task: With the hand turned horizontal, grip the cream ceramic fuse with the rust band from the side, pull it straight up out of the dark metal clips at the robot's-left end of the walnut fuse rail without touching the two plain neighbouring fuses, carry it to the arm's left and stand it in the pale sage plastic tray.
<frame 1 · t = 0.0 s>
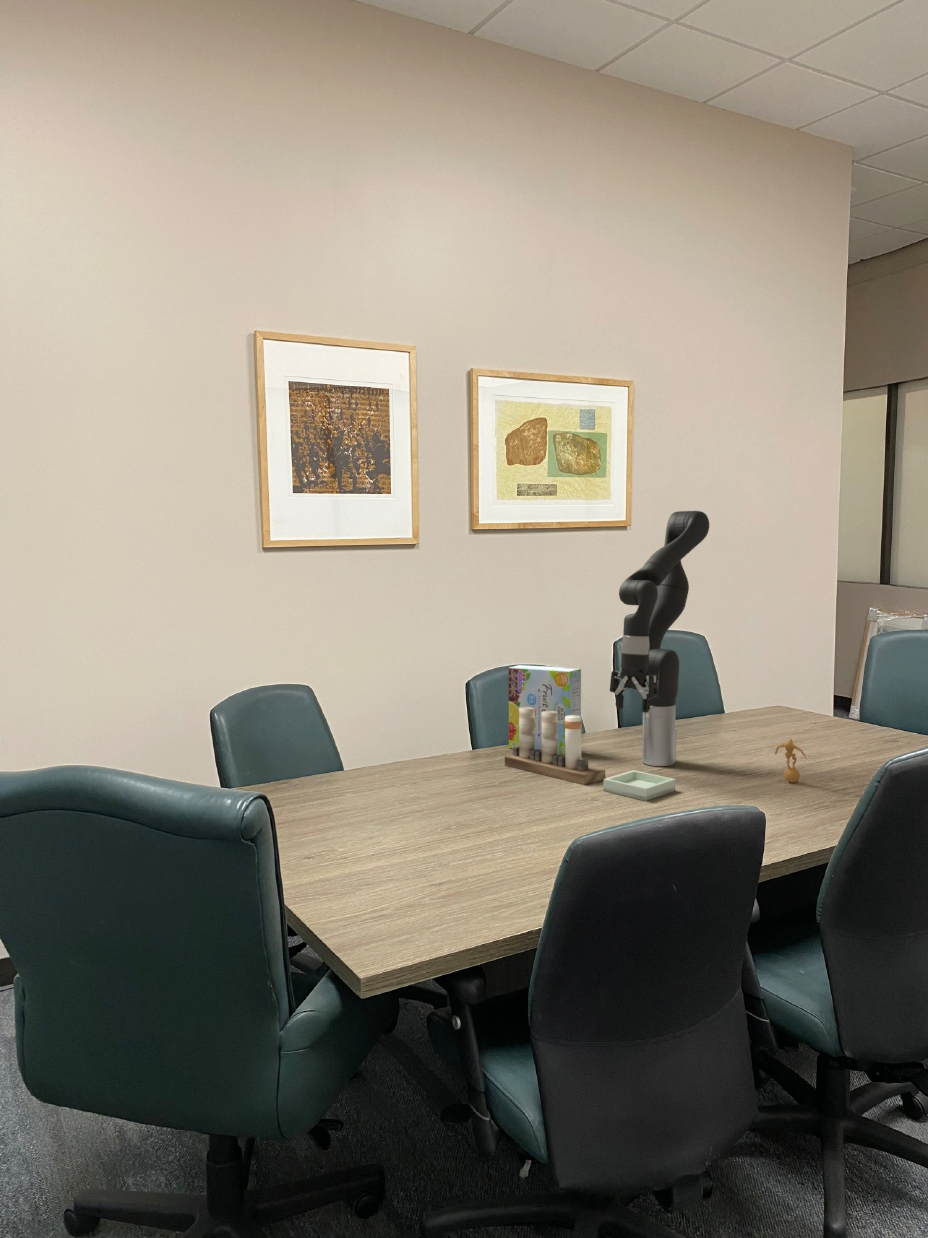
hand: (632, 710, 243), 17 cm above the table, tool pointing down, fingers open, 8 cm apart
tray: (639, 790, 225), on the table
fuse rail: (553, 771, 244), on the table
figurine: (790, 784, 231), on the table
marked fuse: (573, 767, 239), point 2 cm above the table, touching fuse rail
snack box: (544, 750, 271), on the table
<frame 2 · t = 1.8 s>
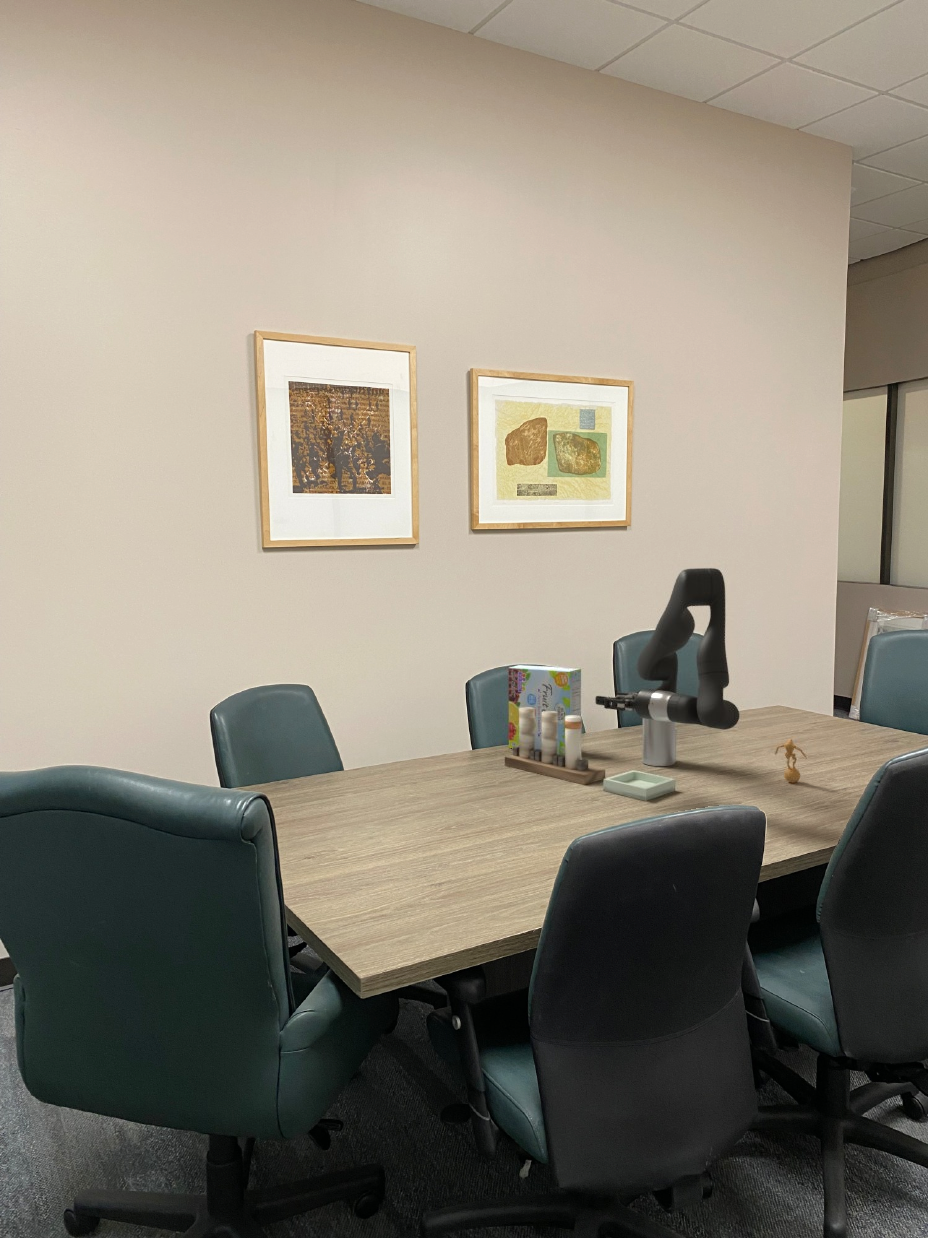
hand: (606, 698, 229), 23 cm above the table, tool horizontal, fingers open, 8 cm apart
nothing on the table moved.
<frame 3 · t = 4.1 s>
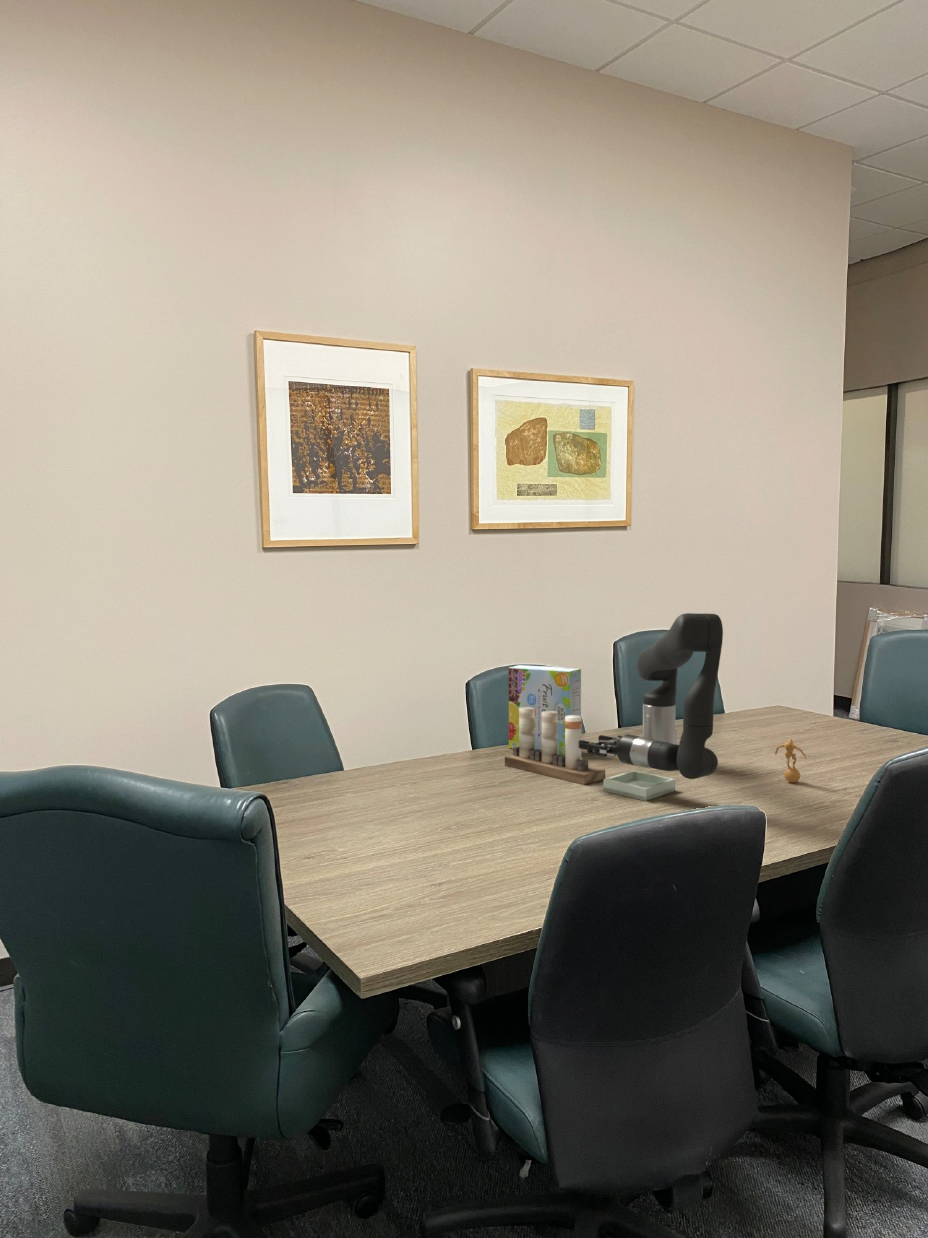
hand: (589, 741, 235), 11 cm above the table, tool horizontal, fingers open, 8 cm apart
nothing on the table moved.
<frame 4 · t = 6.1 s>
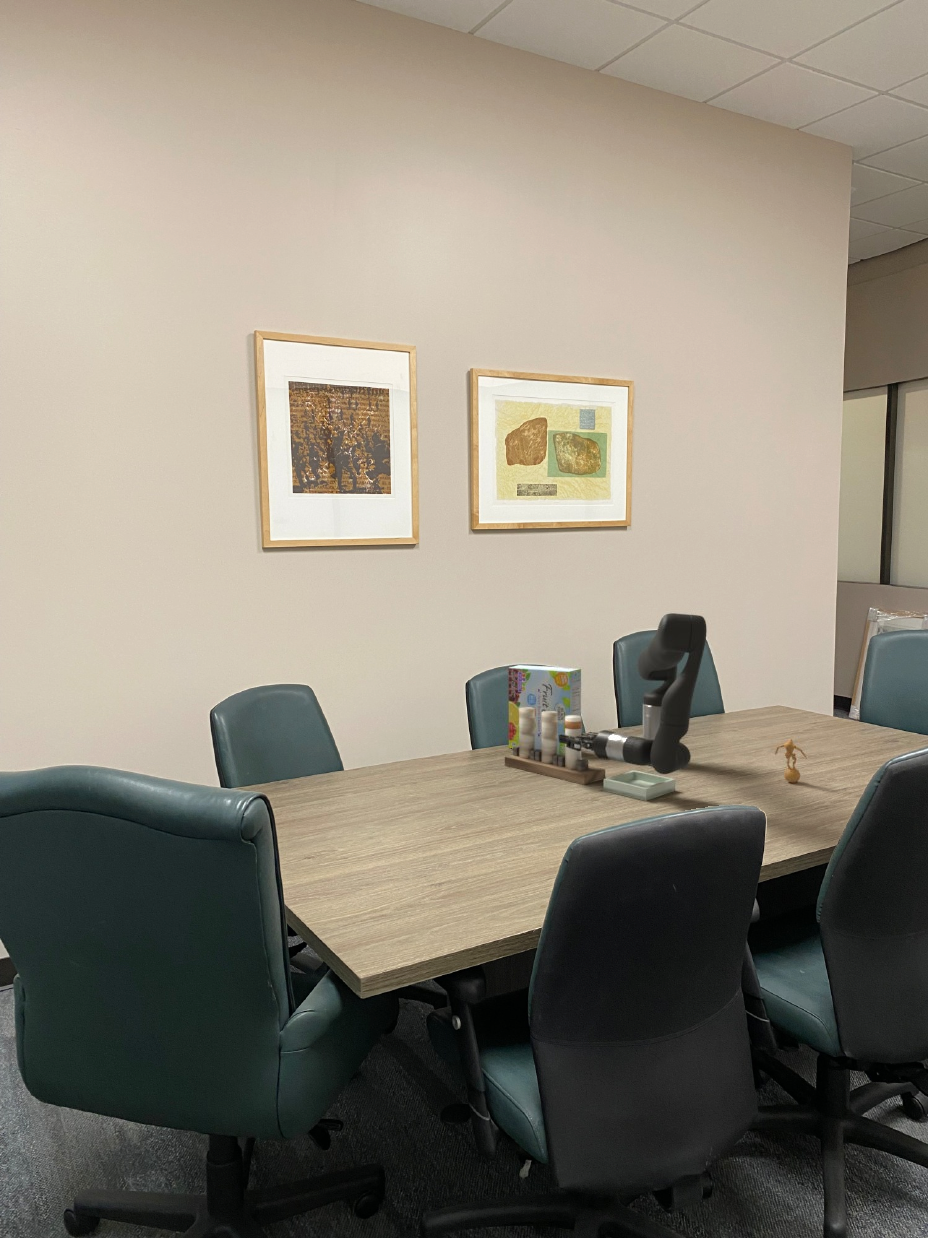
hand: (565, 736, 240), 10 cm above the table, tool horizontal, fingers closed on marked fuse, 4 cm apart
marked fuse: (573, 767, 239), point 3 cm above the table, touching fuse rail, gripper
everything else where it was.
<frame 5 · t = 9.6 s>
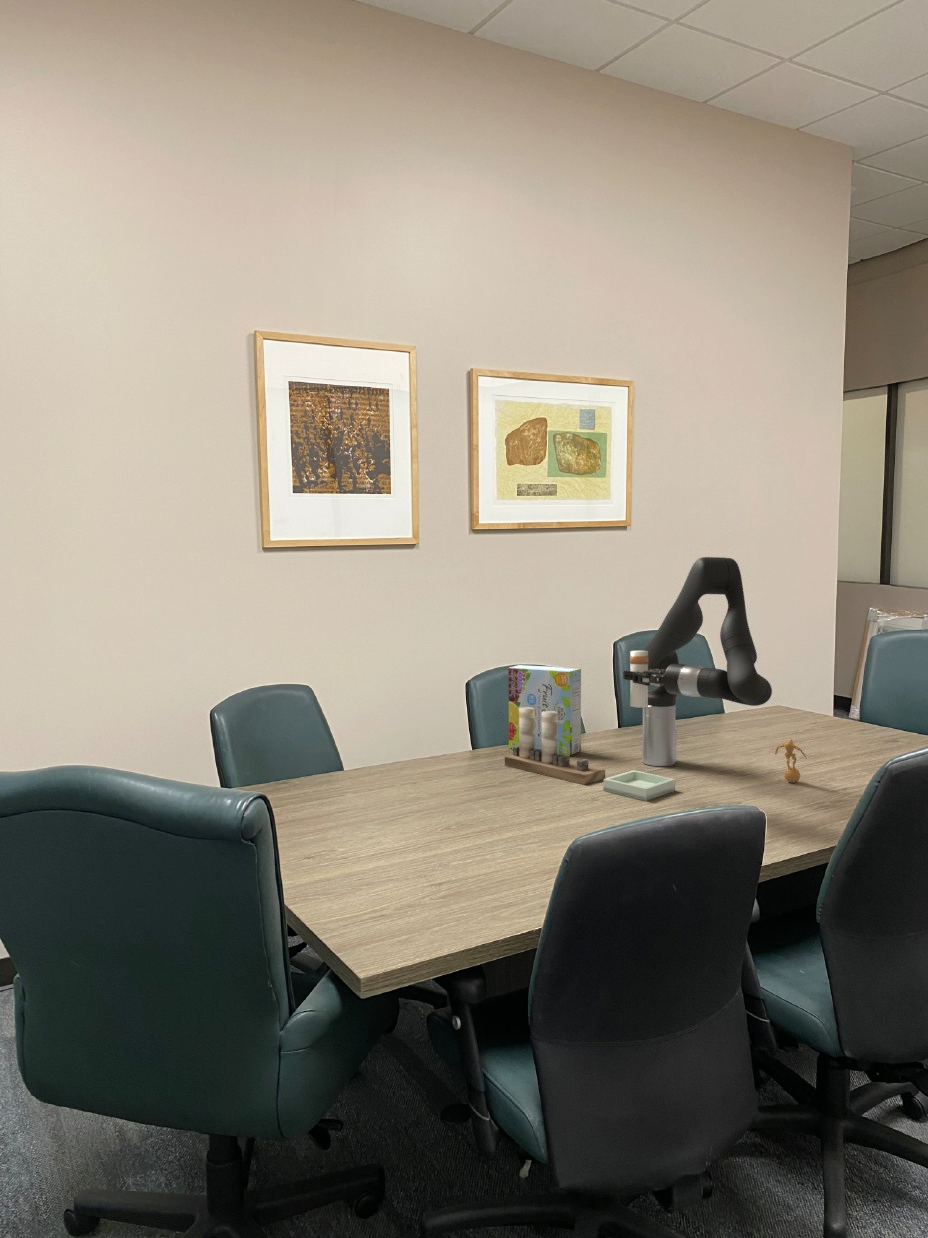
hand: (630, 674, 225), 30 cm above the table, tool horizontal, fingers closed on marked fuse, 4 cm apart
marked fuse: (639, 706, 223), point 22 cm above the table, touching gripper
everything else where it was.
when the fingers open (10 cm above the table, at t = 13.1 s): marked fuse drops 1 cm, resting on tray.
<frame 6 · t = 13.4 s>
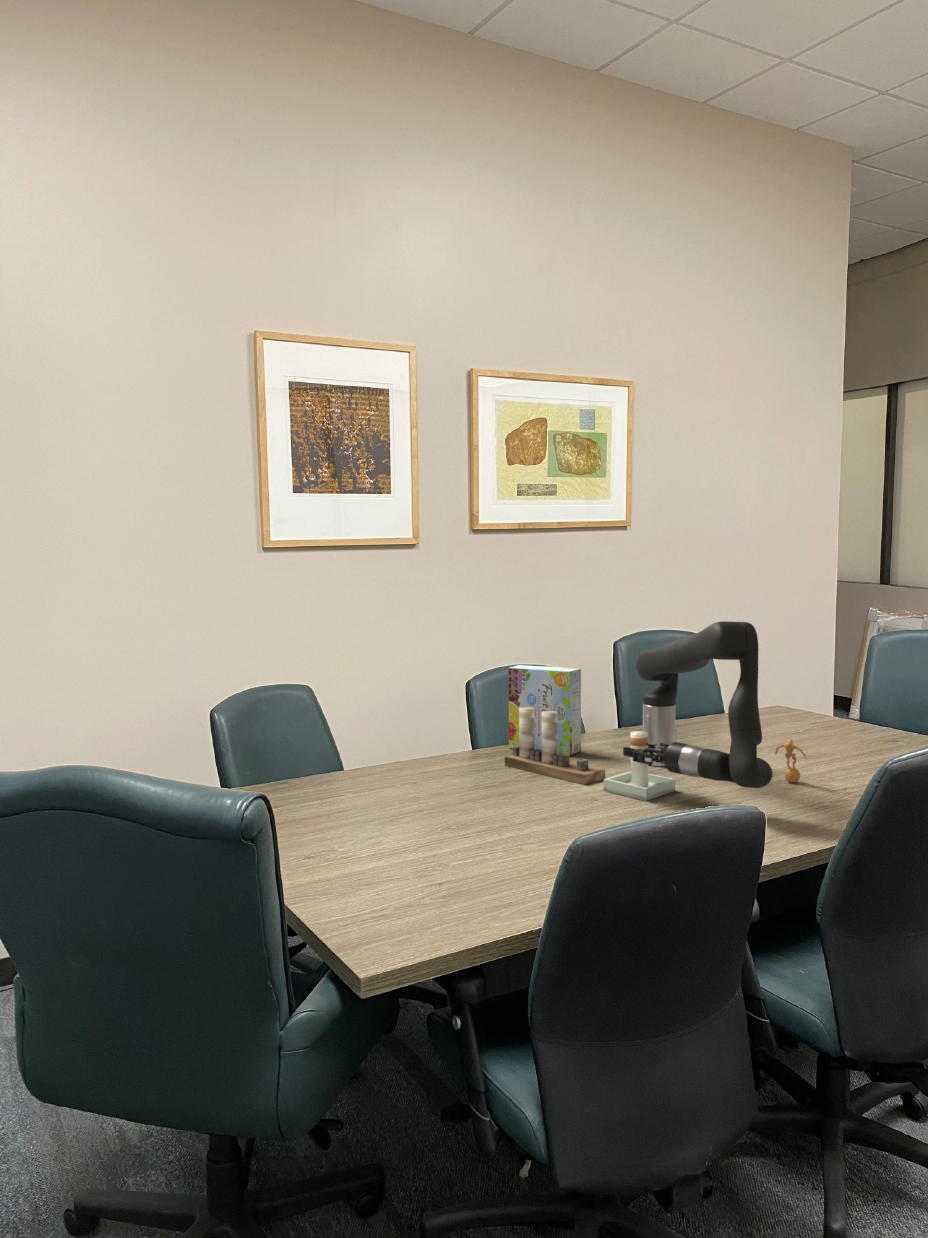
hand: (632, 749, 226), 11 cm above the table, tool horizontal, fingers open, 6 cm apart
marked fuse: (639, 786, 225), point 1 cm above the table, touching tray
everything else where it was.
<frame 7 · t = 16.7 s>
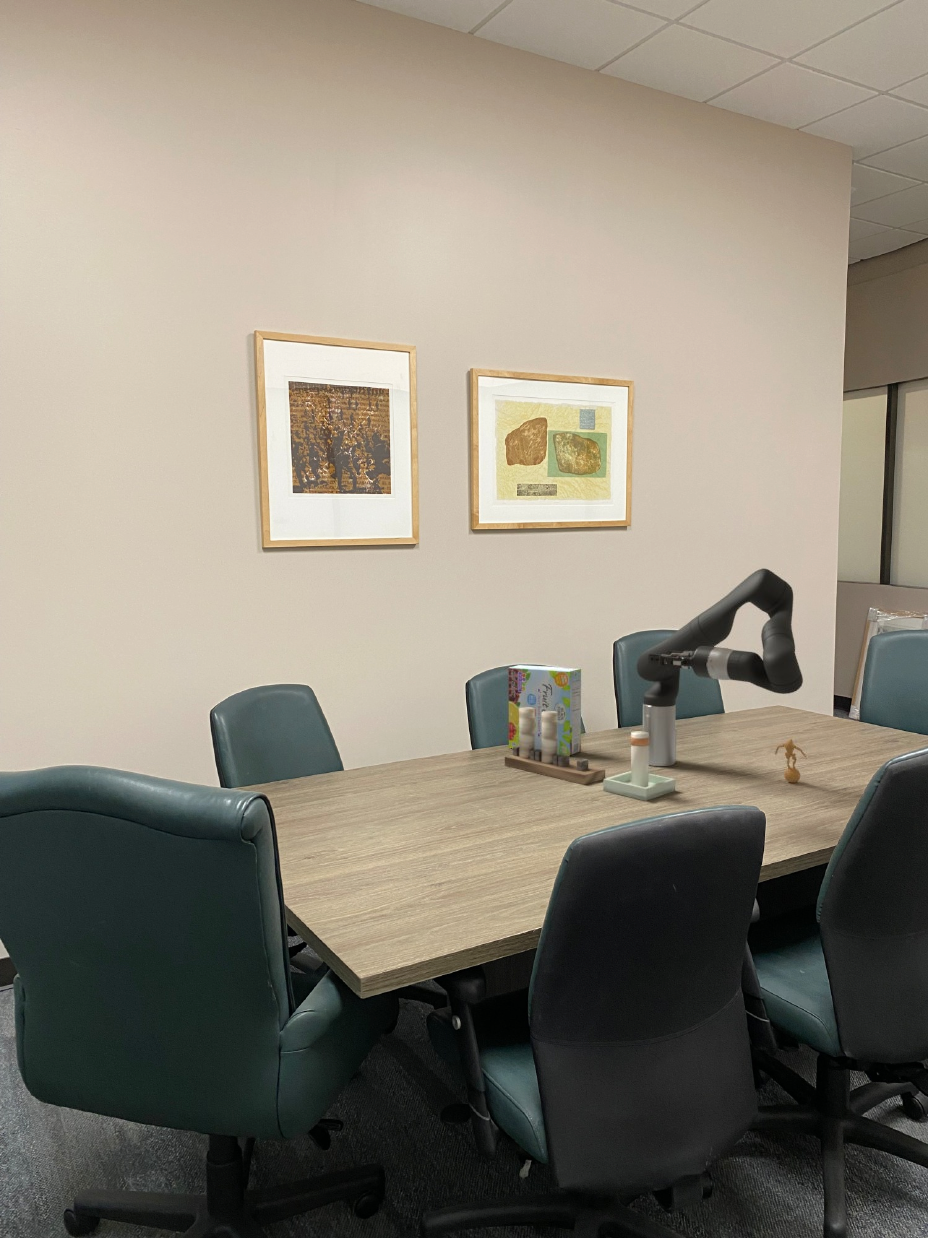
hand: (659, 656, 219), 35 cm above the table, tool horizontal, fingers open, 8 cm apart
nothing on the table moved.
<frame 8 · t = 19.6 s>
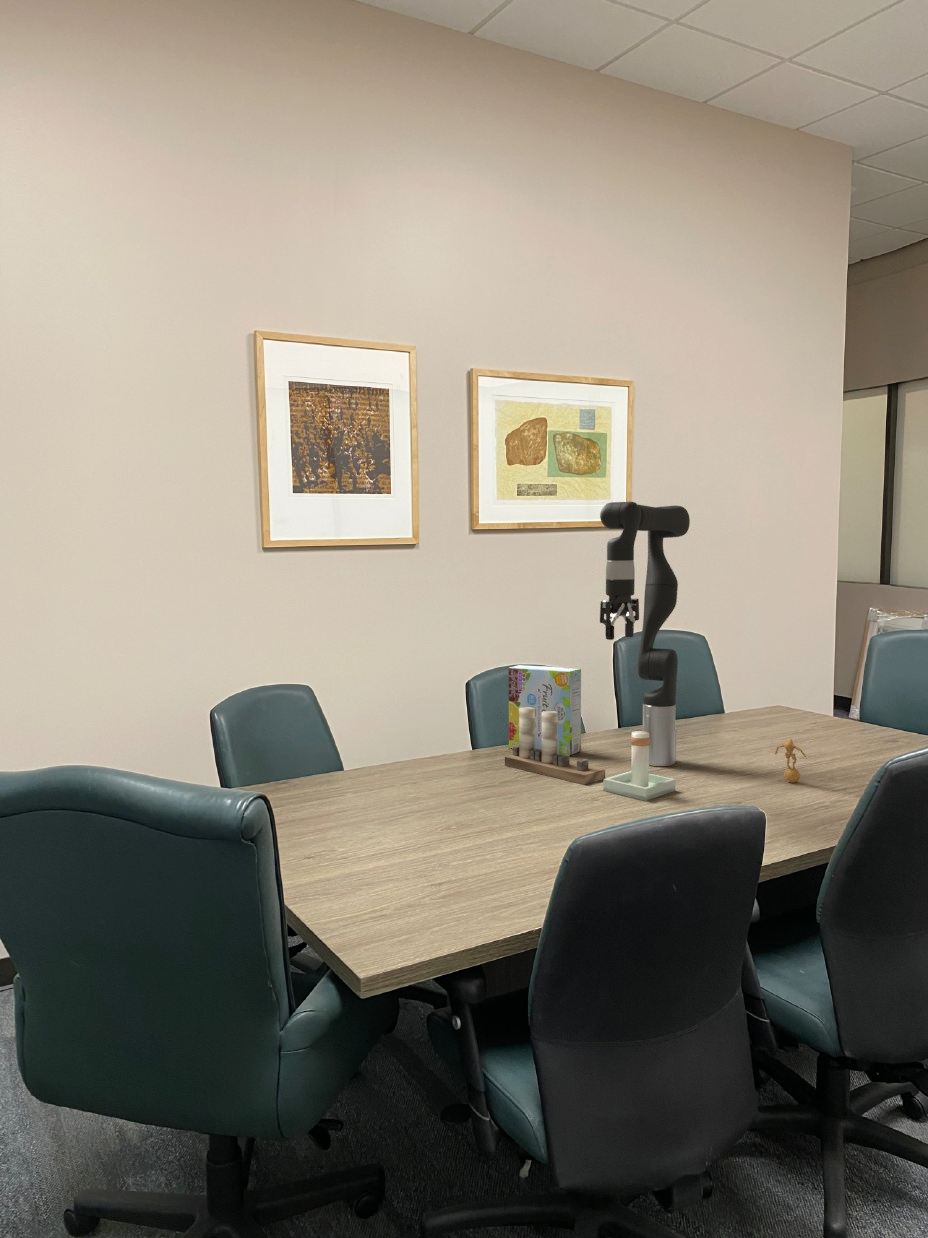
hand: (619, 638, 234), 38 cm above the table, tool pointing down, fingers open, 8 cm apart
nothing on the table moved.
at the end: marked fuse inside the target area on the tray (0.1 cm from its centre), point 1.0 cm above the tray's base; marked fuse tilted 1°; the gripper is holding nothing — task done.
